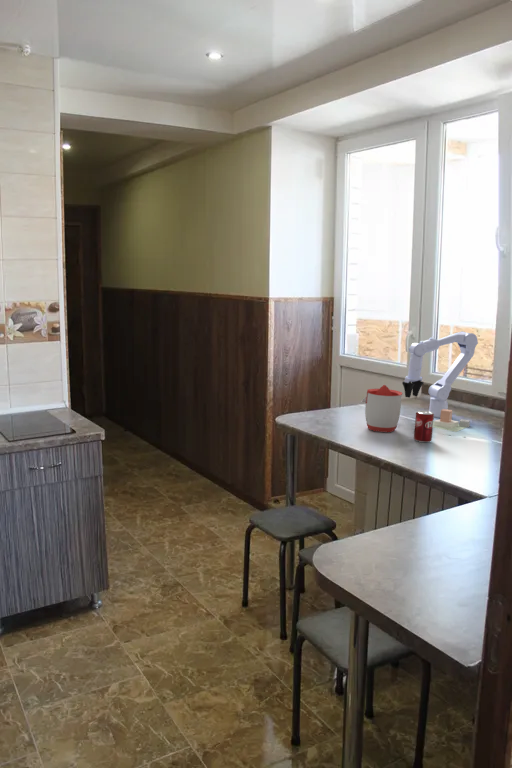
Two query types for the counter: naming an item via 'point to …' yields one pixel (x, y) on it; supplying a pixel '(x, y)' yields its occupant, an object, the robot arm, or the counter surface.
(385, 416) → the citrus juicer
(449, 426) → the cream square slab
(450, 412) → the salmon pink block
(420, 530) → the counter surface
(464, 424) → the grey brick
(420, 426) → the soda can
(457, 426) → the baseplate
